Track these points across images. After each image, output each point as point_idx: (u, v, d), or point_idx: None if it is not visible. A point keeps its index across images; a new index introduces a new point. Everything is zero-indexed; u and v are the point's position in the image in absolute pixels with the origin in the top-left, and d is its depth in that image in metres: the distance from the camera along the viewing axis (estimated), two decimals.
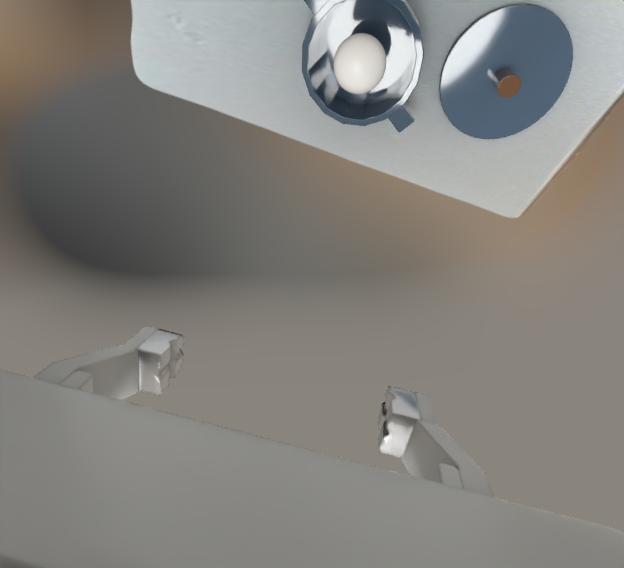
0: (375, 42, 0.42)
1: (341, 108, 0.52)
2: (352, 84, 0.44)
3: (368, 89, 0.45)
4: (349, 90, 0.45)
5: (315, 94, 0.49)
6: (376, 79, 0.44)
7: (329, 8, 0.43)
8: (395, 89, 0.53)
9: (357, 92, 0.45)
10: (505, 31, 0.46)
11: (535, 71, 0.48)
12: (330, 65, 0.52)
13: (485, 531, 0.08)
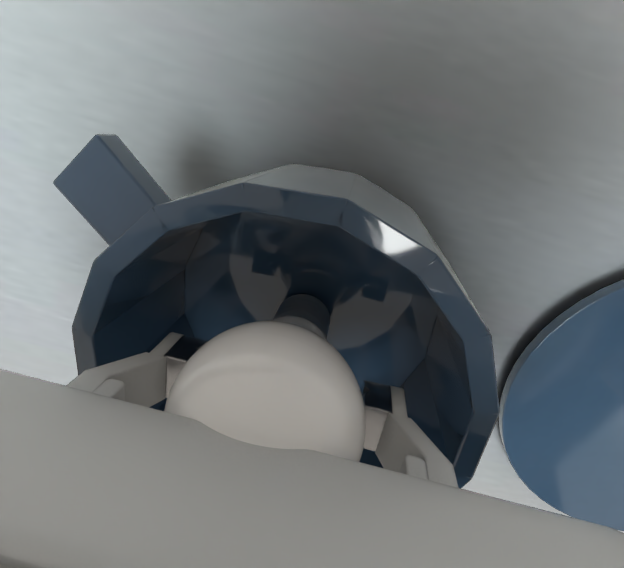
0: (320, 388, 0.10)
1: None
2: None
3: None
4: None
5: None
6: None
7: (150, 239, 0.11)
8: None
9: None
10: None
11: None
12: (216, 327, 0.20)
13: (485, 531, 0.08)
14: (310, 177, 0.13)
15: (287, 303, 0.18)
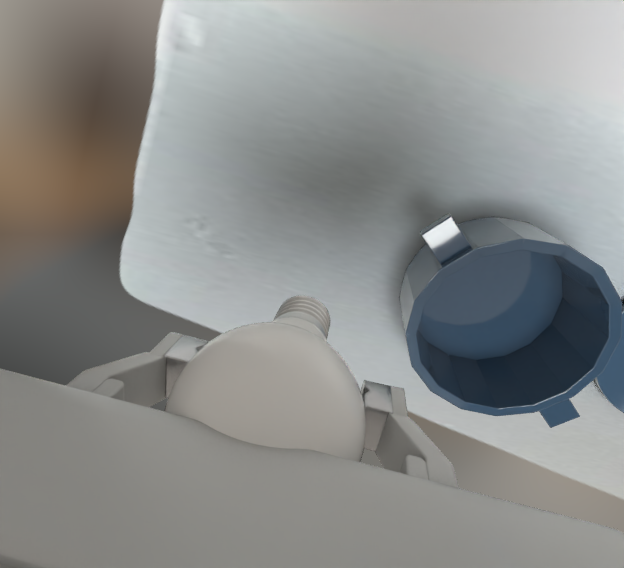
0: (320, 390, 0.10)
1: (449, 376, 0.33)
2: None
3: None
4: None
5: (421, 366, 0.29)
6: None
7: (471, 260, 0.26)
8: (521, 345, 0.35)
9: None
10: None
11: None
12: (425, 306, 0.35)
13: (485, 531, 0.08)
14: (527, 230, 0.27)
15: (287, 304, 0.18)
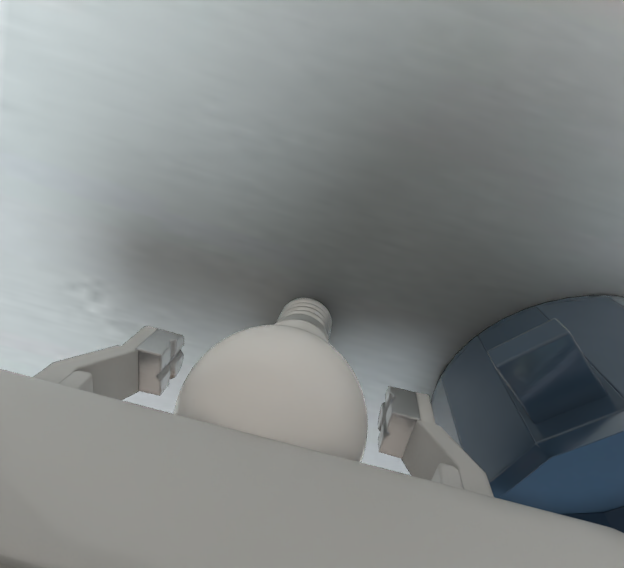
0: (323, 390, 0.10)
1: None
2: None
3: None
4: None
5: None
6: None
7: (613, 431, 0.11)
8: None
9: None
10: None
11: None
12: None
13: (485, 531, 0.08)
14: None
15: (290, 306, 0.18)
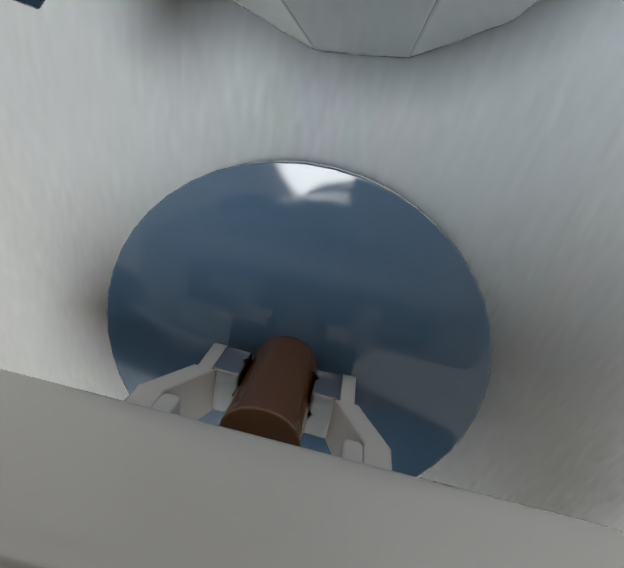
0: None
1: None
2: None
3: None
4: None
5: None
6: None
7: None
8: None
9: None
10: (423, 351, 0.14)
11: (306, 435, 0.16)
12: None
13: (485, 531, 0.08)
14: None
15: None
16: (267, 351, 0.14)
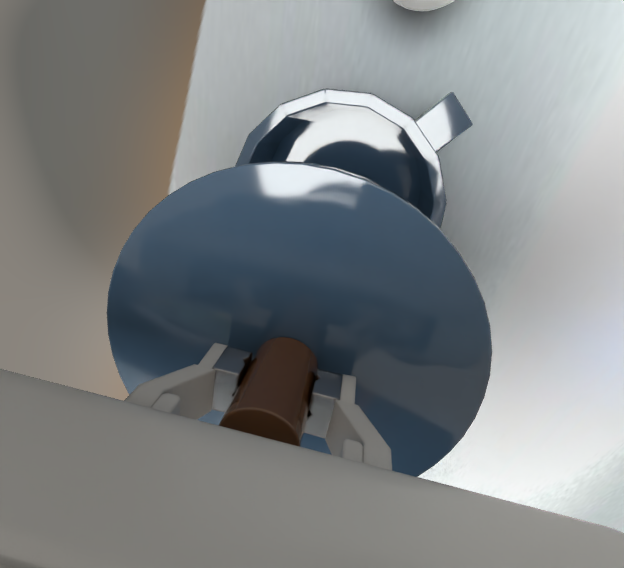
0: None
1: None
2: None
3: None
4: None
5: (281, 117, 0.24)
6: None
7: (423, 153, 0.23)
8: None
9: None
10: (423, 351, 0.14)
11: (306, 436, 0.16)
12: (325, 133, 0.30)
13: (485, 531, 0.08)
14: None
15: None
16: (267, 352, 0.14)
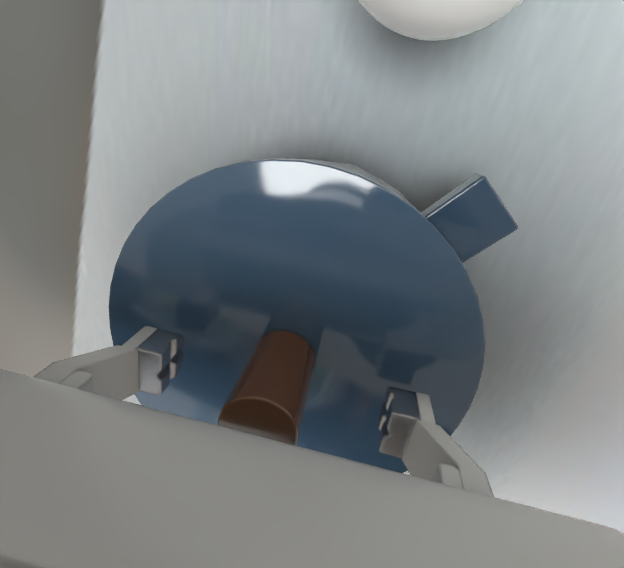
0: None
1: None
2: None
3: None
4: None
5: None
6: None
7: None
8: None
9: None
10: (418, 344, 0.14)
11: (304, 428, 0.17)
12: None
13: (485, 531, 0.08)
14: None
15: None
16: (266, 344, 0.14)
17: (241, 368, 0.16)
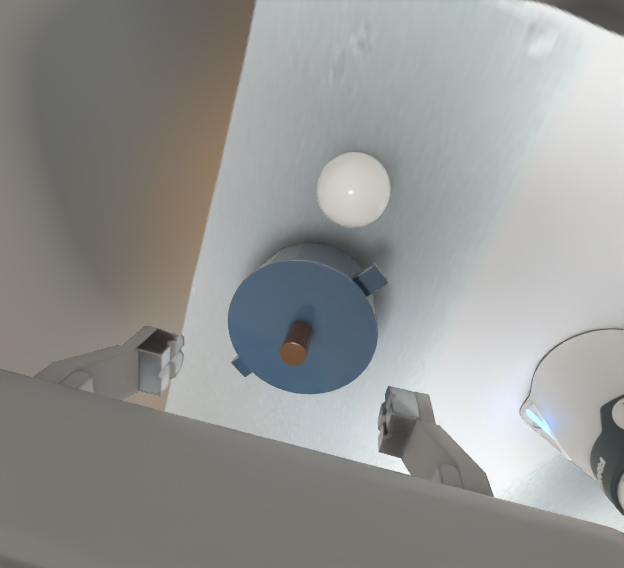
0: (379, 214, 0.31)
1: None
2: (332, 189, 0.30)
3: (323, 209, 0.31)
4: (323, 181, 0.30)
5: None
6: (336, 220, 0.31)
7: None
8: None
9: (320, 193, 0.31)
10: (352, 326, 0.37)
11: (308, 363, 0.39)
12: None
13: (485, 531, 0.08)
14: None
15: None
16: (294, 326, 0.37)
17: (282, 337, 0.39)
